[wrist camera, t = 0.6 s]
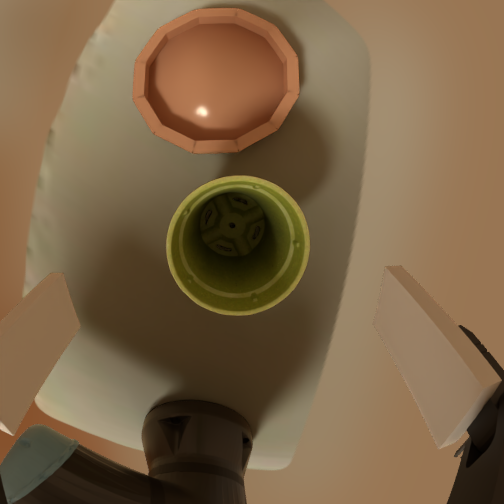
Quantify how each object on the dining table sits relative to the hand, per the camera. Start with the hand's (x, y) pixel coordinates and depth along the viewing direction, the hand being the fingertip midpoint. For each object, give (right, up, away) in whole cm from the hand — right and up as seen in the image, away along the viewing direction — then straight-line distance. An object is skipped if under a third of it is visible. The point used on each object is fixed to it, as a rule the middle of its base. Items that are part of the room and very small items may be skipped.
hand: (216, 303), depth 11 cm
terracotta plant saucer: (-2, +17, +12) cm, 21 cm away
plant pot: (0, +5, +16) cm, 17 cm away
